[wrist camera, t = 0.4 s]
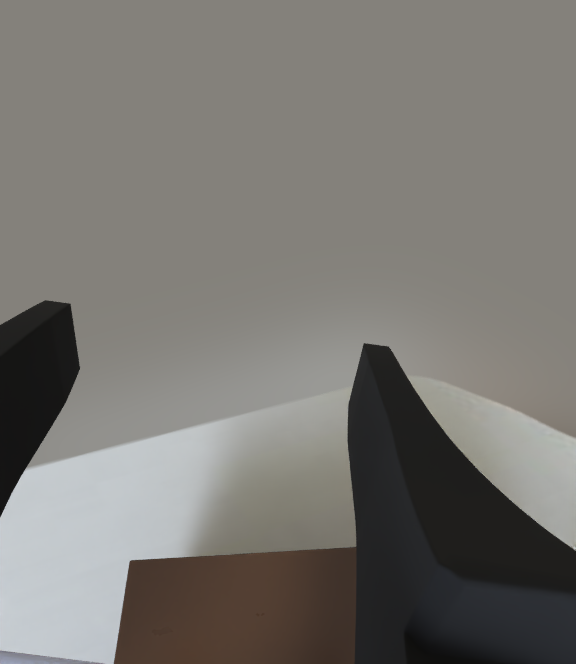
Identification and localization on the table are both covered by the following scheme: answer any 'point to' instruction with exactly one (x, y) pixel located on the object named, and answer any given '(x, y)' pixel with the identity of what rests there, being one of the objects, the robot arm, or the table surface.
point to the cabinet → (241, 609)
